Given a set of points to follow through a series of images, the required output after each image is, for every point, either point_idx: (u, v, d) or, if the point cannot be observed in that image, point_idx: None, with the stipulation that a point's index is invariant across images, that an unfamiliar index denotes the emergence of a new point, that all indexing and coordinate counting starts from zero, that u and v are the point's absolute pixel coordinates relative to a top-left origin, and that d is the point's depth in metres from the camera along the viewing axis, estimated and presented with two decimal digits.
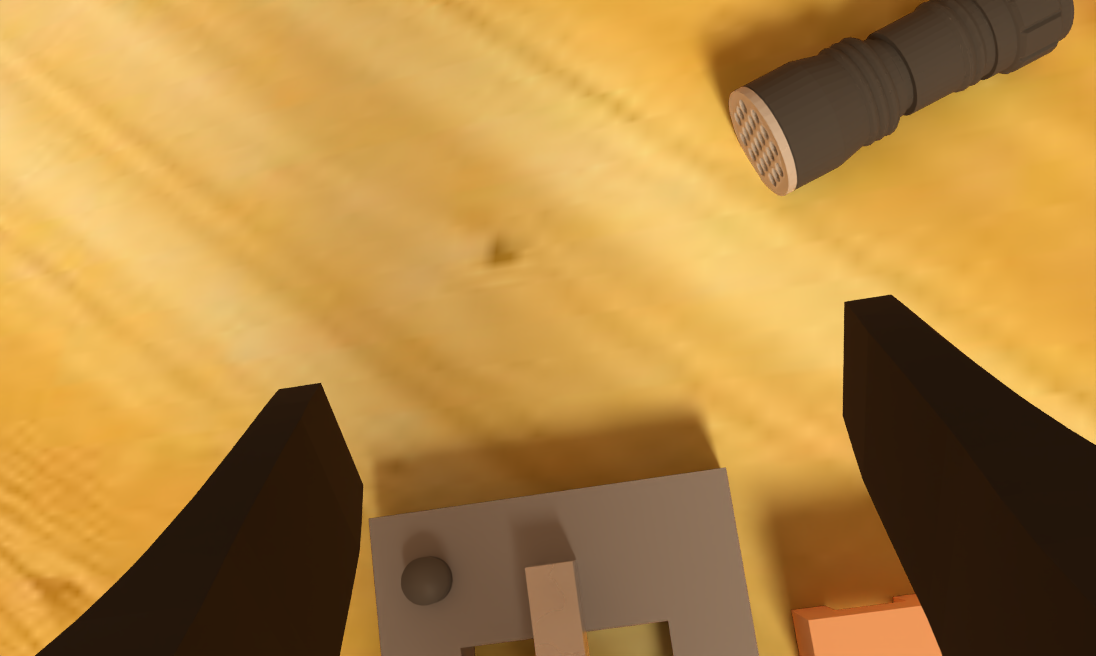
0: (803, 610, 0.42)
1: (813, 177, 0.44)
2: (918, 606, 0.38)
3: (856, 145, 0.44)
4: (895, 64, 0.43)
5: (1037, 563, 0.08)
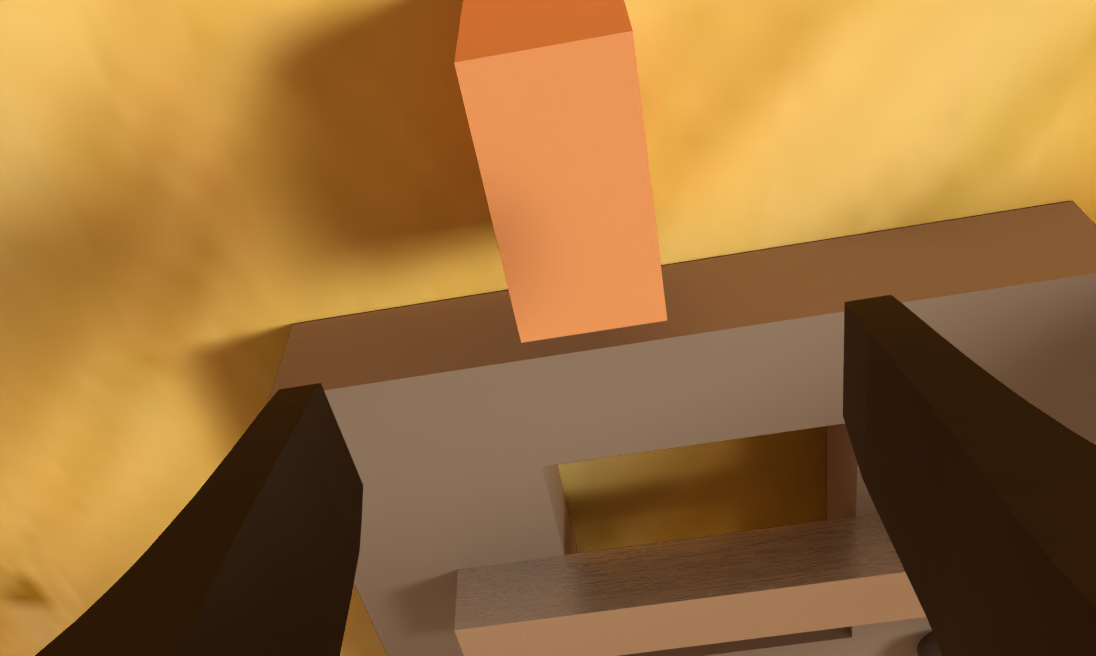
0: None
1: None
2: (476, 151, 0.17)
3: None
4: None
5: (1037, 563, 0.08)
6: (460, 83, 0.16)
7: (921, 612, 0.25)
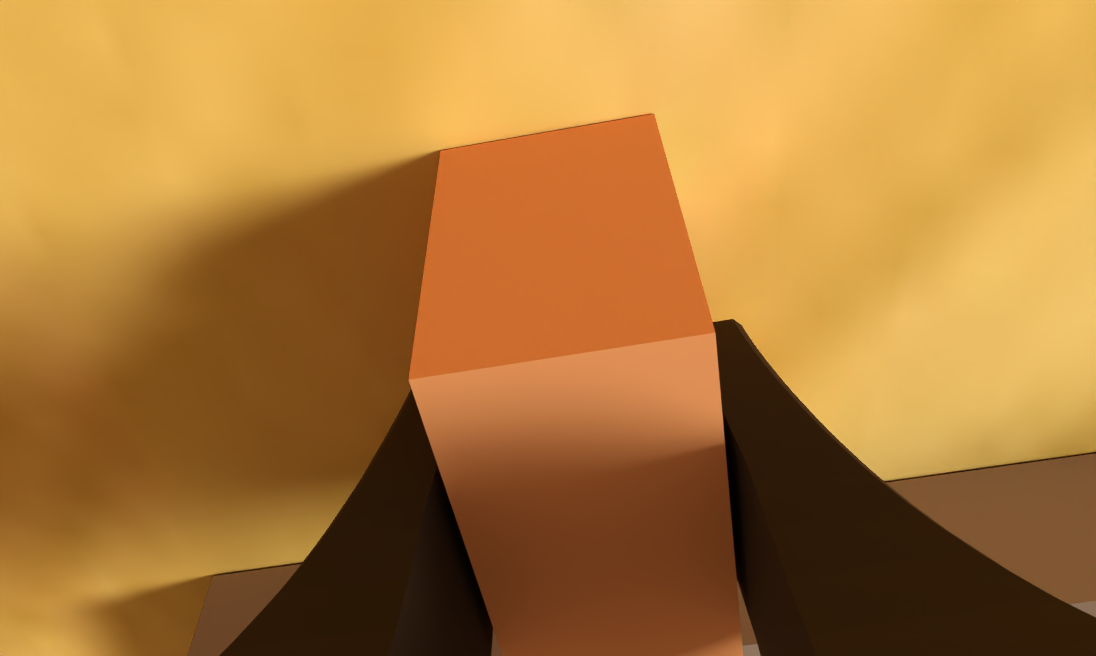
0: None
1: None
2: (450, 492, 0.10)
3: None
4: None
5: (789, 595, 0.08)
6: (420, 408, 0.10)
7: None
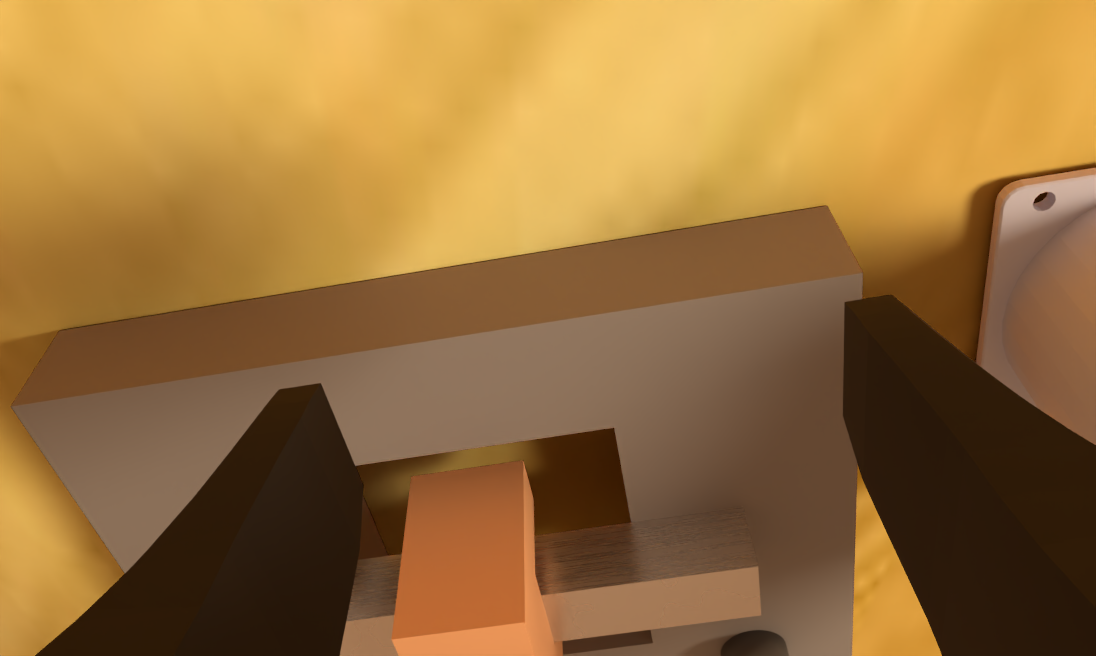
0: None
1: None
2: None
3: None
4: None
5: (1036, 563, 0.08)
6: (396, 649, 0.21)
7: (691, 619, 0.25)
